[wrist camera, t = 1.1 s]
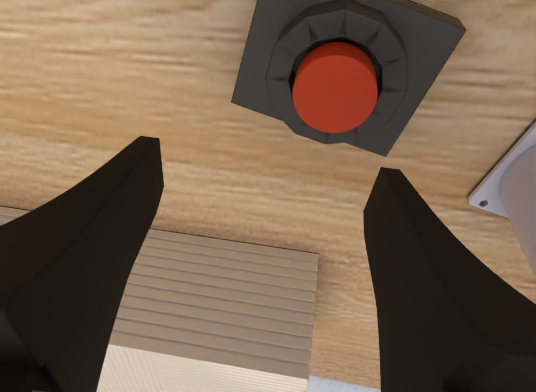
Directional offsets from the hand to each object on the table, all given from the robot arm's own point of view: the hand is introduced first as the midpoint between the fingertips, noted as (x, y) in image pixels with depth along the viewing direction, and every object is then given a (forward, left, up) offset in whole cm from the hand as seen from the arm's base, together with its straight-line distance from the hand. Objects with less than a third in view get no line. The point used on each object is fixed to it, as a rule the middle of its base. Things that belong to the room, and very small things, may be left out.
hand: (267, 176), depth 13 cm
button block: (-2, 0, -12) cm, 12 cm away
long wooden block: (+7, +25, -12) cm, 29 cm away
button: (-2, 0, -9) cm, 9 cm away
